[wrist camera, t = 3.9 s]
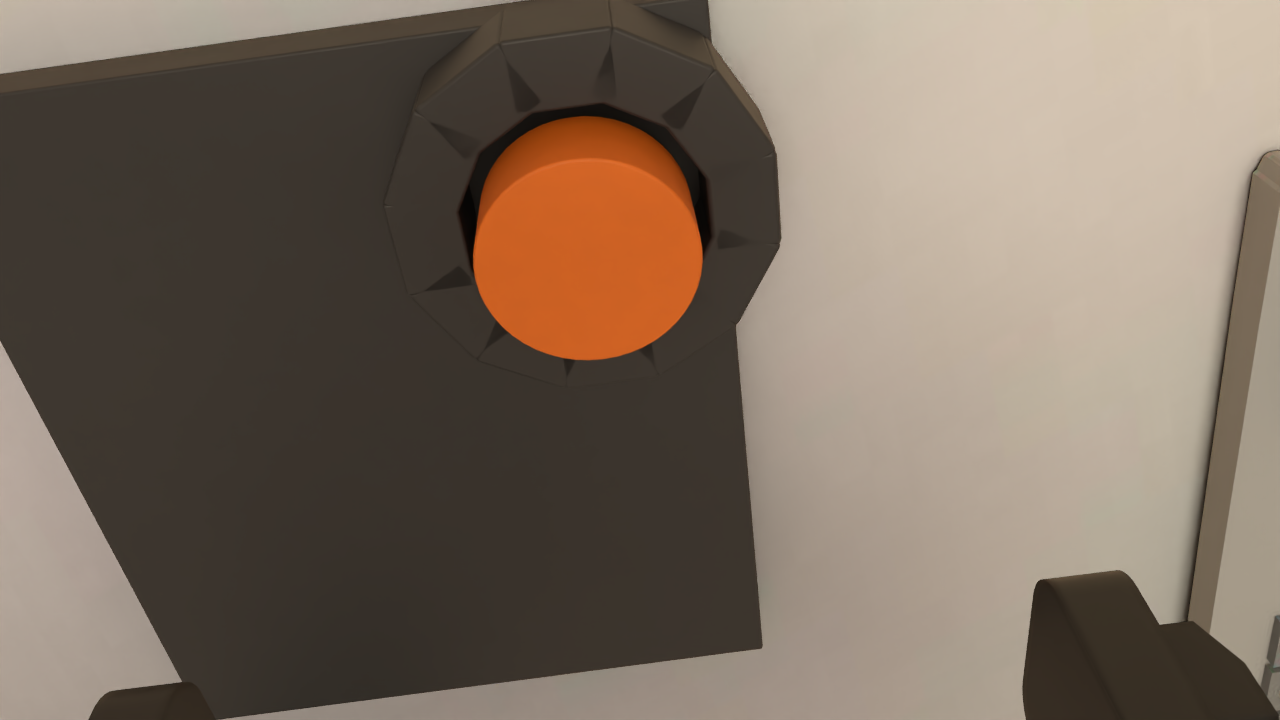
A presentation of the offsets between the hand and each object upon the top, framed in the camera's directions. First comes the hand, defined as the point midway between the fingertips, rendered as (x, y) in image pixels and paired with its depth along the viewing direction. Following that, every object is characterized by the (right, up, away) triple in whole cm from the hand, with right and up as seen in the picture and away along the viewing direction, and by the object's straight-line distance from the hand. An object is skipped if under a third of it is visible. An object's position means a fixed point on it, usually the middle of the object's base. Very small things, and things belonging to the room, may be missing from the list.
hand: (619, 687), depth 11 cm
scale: (-5, +2, +13) cm, 14 cm away
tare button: (-1, +6, +8) cm, 10 cm away
